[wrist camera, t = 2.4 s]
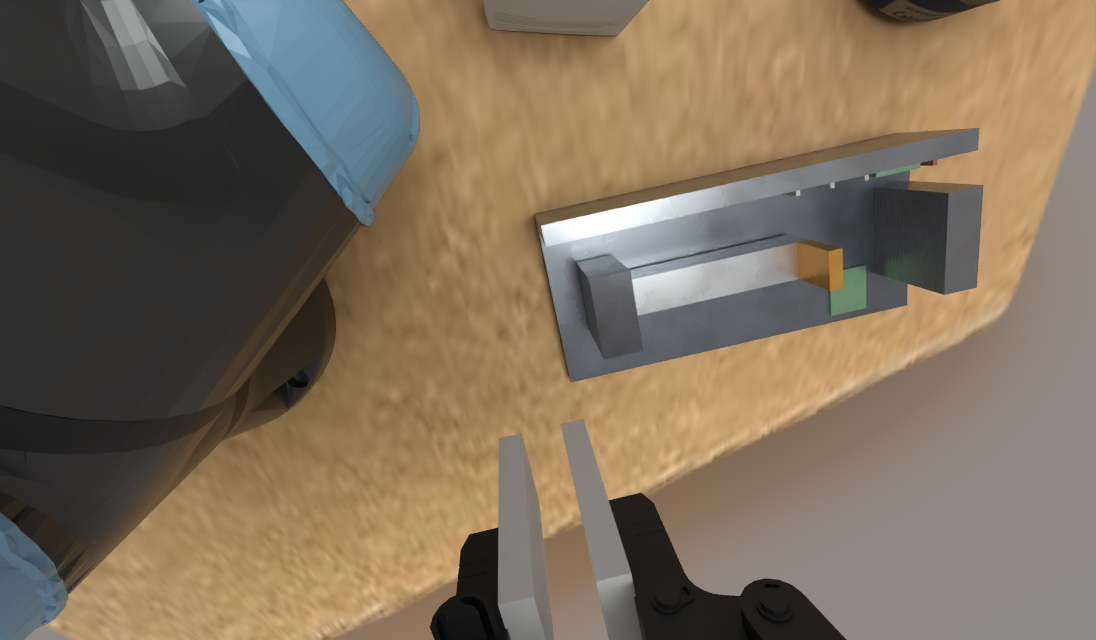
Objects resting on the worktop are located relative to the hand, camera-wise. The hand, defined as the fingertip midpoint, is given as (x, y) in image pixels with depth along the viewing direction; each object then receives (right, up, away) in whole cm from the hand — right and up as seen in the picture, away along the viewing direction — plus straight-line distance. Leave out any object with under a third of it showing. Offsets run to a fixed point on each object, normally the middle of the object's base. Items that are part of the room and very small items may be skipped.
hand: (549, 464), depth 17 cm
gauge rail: (+12, +9, +19) cm, 24 cm away
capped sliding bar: (+9, +8, +17) cm, 21 cm away
